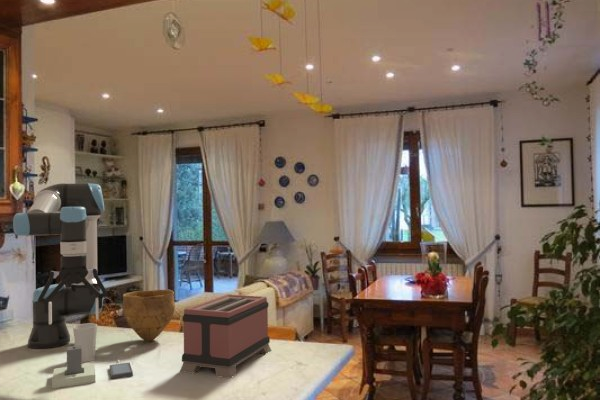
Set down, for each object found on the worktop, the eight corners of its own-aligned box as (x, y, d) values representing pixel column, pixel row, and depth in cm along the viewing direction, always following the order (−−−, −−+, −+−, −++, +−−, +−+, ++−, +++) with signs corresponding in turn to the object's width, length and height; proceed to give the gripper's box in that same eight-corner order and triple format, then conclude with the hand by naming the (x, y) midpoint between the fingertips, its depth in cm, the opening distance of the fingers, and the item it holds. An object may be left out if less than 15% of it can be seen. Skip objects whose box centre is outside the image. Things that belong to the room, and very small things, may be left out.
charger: (67, 378, 156) (67, 346, 156) (81, 376, 157) (81, 344, 158) (67, 382, 152) (66, 350, 152) (81, 380, 154) (81, 348, 154)
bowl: (112, 343, 195) (111, 293, 195) (153, 332, 212) (152, 286, 212) (145, 351, 183) (144, 298, 183) (185, 339, 200) (185, 290, 200)
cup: (88, 363, 170) (88, 329, 170) (68, 362, 172) (68, 328, 172) (102, 356, 178) (101, 323, 178) (82, 355, 179) (82, 322, 180)
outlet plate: (54, 376, 158) (54, 368, 158) (94, 370, 163) (94, 362, 163) (52, 388, 147) (52, 380, 147) (95, 382, 152) (95, 373, 152)
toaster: (274, 348, 185) (274, 294, 186) (230, 378, 154) (229, 313, 154) (230, 343, 193) (230, 292, 193) (179, 371, 161) (178, 309, 161)
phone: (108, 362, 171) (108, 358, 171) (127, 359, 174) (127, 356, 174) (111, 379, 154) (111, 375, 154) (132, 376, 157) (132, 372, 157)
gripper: (27, 258, 147) (28, 328, 147) (115, 253, 157) (116, 319, 157) (30, 255, 153) (30, 322, 153) (114, 251, 164) (114, 314, 164)
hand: (74, 321), depth 155 cm, fingers open, 13 cm apart
